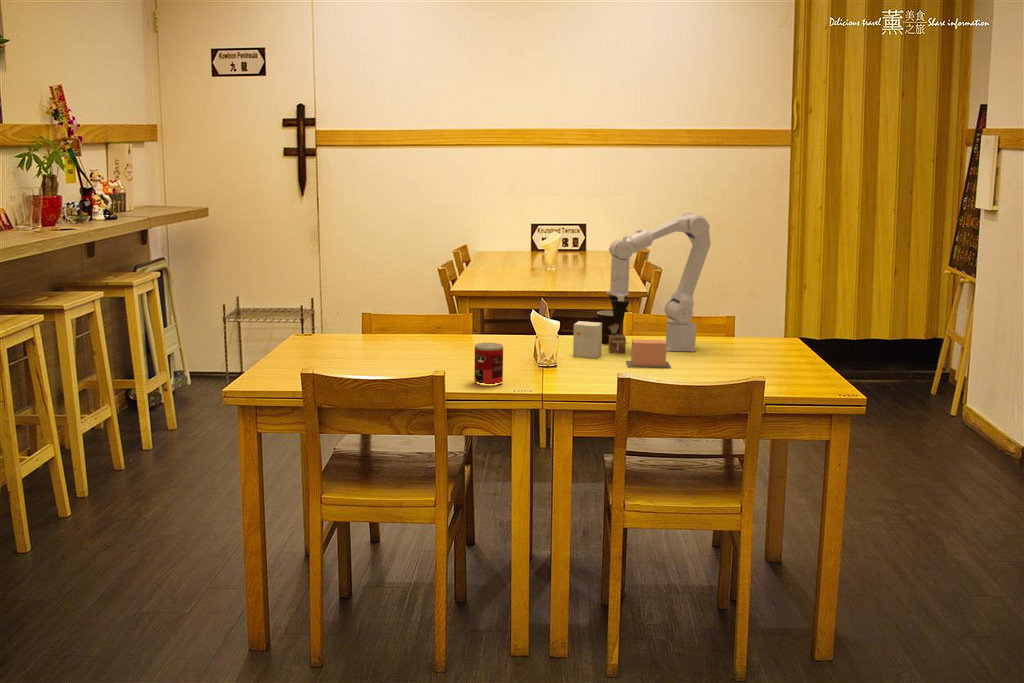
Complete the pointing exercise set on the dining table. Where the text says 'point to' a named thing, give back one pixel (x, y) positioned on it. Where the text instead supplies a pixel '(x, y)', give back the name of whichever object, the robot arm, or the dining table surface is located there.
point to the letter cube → (617, 343)
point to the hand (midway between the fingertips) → (618, 319)
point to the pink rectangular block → (648, 352)
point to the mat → (649, 366)
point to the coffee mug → (607, 325)
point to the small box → (587, 339)
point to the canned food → (488, 363)
